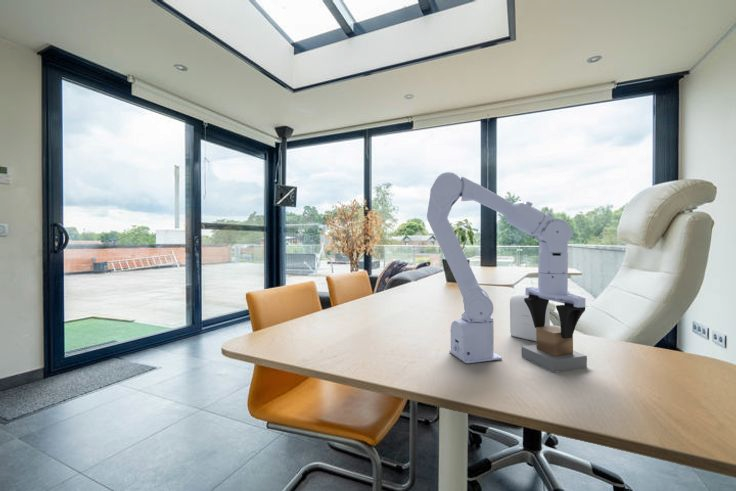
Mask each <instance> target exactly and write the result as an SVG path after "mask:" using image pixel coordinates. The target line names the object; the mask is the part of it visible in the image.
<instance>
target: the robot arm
mask: <svg viewBox="0 0 736 491" xmlns="http://www.w3.org/2000/svg"><path fill="white" fill-rule="evenodd" d="M460 198H461V200H460V201H461V202H469V201H474V202H476V203H478V204H480V205H482V206H485V207H487V208H489V209H491V210H493V211H495V212H497V213H499V214H501V215H503V216H504V217H505V221H506V223H507V224H508V225H510V226H512V227H514V228H516V229H518V230H520V231H522V232H524V233H525V234H528V235H529V236H532V237H535V238H536V240H537V241H538V253H537V254H538V255H537V256H538V264H537V266H538V267H537V268H538V272H537V274H538V275H537V279H538V280H537V284H538V286H537V287H533V286H527V287H525V293H524V294H525V295H527V296H529V297H528V298H524V301H525V303H526V304H527V306H528V308H529V310H530V313H531V316H532V319H533V323H534V326H535V328H536V327H543V326H545V314H546V308H547V305H548V302H549V303H550V301H552V302H557V303H561V304H557V305H555V309H556V311H557V314H558V317H559V323H560V327H561V336H562V338H564V339H566V338H572V336H573V337H574V333H575V329H576V327H577V324H578V322H579V320H580V318H581V317H582V315H583V313H584V312H585V311H586V297H584V296H579V295H577V294H573V293H571V292H570V291H568V290H569V288H568V287H569V284H568V283H569V282H568V281H569V279H568V277H569V276H568V274H569V272H568V271H569V270H568V268H569V253H568V252H569V251H568V243H569V241H571V239H572V236H573V234H574V231H573V230H572V229H571V226H570V225H569V222H567V221H566V220H564V219H560V218H553V219H552V217H553V214H552V213H551V212H547V213H546V212H543V211H542V210H540V209H537V208H536V207H534V206H533V203H532V202H531V201H525V202H524V201H521V200H520V201H516V202H511V201H509V200H507V199H506V198H504V197H502V196H501V195H498V194H497V193H495V192H493V191H492V190H490V189H488V188H486V187H485V186H482V185H481V184H480V183H477V182H475V181H473V180H471V179H469V178H466V177H464V176H459V175H458V174H457V173H454V172H453V171H451V172H450V171H447V172H443V173H441V174H440V175H438V176H437V177H436V179H435V180H434V182H433V184H432V186H431V187H430V192H429V200H428V206H427V211H426V212H427V213H426V219H427V222H428V223H429V226H430V228H431V230H432V232H433V234H434V237H435V239H436V241H437V243H438V246H439V247H440V249H441V250H440V251H441V252H442V254H443V257H444V258H445V261H446V262H447V264H448V266H449V269H450V272H451V273H452V275H453V277H454V280H455V282H456V285H457V287H458V288H459V291H460V294H461V296H462V298H463V299H462V303H463V310H464V312H463V313H462V314H461V318H459V319H456V320H453V321H452V323H451V324H450V349H449V350H448V351H449V353H451V354H452V355H453V356H455V357H456V358H458V359H459V360H460V361H462V362H463V363H465V364H474V363H482V362H490V361H497V360H502V359H503V358H502V356H501V355H499V354H498V353H496V352H495V351H494V346H495V344H494V340H495V339H494V317H493V316H492V315H493V313H494V304H493V301H492V299H491V298H490V297H489V294H488V293H487V292H486V291H485V290H484V289H483V288H481V287H480V286H481V285H480V284H479V282H478V280H477V279H476V278H477V277H476V275H475V274H474V272H473V270H472V266H471V265H470V263H469V261H468V259H467V257H466V255H465V252H464V251H463V248H462V246H461V244H460V242H459V239H458V237H457V236H456V233H455V231H454V230H453V228H452V226H451V223H450V221H449V219H448V217H449V215H450V212H451V210H452V207H453V206H454V205H455V204H456V203H457V201H458V200H459V199H460Z"/></svg>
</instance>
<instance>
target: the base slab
mask: <svg viewBox="0 0 736 491" xmlns="http://www.w3.org/2000/svg"><path fill="white" fill-rule="evenodd" d="M520 350H521V352H520V354H521V355H520V356H521V358H523V359H525V360H527V361H529V362H531V363H532V364H535V365H537V366H539V367H540V368H543V369H545V370H547V371H549V370H550V371H549V372H551V373H557V372H556V371H559V372H565V370H566V371H572V370H579V368H580V369H585V368H584V367H587V368H588V355H585V354H583V353H581V352H578V351H576V350H573V354H568V355H560V356H553V355H550V354H548V353H545V352H543V351H541V350H538V349H537V344H529V345H522V346H521V349H520Z"/></svg>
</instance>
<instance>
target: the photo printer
mask: <svg viewBox="0 0 736 491" xmlns="http://www.w3.org/2000/svg"><path fill="white" fill-rule="evenodd" d="M528 297H529V296H527V295H525V293H520V294H515V295H512V296H511V297H510V299H509V328H510V330H509V332H510V336H511V337H515V338H520V339H523V340H524V339H525V340H528V341H534V342H537V341H536V328H535V326H534V323H533V319H532V316H531V313H530V310H529V308H528V306H527V304H526V303H525V301H524V298H528ZM550 309H551V308H550V301H549V302H548V305H547V308H546V314H545V326H551V320H550V318H551V315H550V314H551V313H550Z"/></svg>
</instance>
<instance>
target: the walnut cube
mask: <svg viewBox="0 0 736 491" xmlns="http://www.w3.org/2000/svg"><path fill="white" fill-rule="evenodd" d="M535 342H536V345H537V349H538V350H541V351H543V352H545V353H548V354H550V355H553V356H560V355H568V354H573V351H574V335H573V336H572V338H566V339H564V338H562V336H561V326H557V325H550V326H543V327H536V341H535Z"/></svg>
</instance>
